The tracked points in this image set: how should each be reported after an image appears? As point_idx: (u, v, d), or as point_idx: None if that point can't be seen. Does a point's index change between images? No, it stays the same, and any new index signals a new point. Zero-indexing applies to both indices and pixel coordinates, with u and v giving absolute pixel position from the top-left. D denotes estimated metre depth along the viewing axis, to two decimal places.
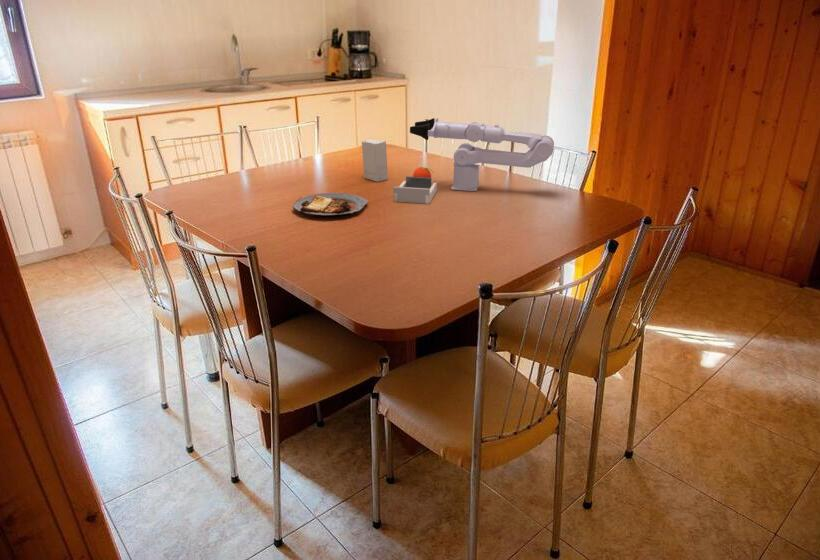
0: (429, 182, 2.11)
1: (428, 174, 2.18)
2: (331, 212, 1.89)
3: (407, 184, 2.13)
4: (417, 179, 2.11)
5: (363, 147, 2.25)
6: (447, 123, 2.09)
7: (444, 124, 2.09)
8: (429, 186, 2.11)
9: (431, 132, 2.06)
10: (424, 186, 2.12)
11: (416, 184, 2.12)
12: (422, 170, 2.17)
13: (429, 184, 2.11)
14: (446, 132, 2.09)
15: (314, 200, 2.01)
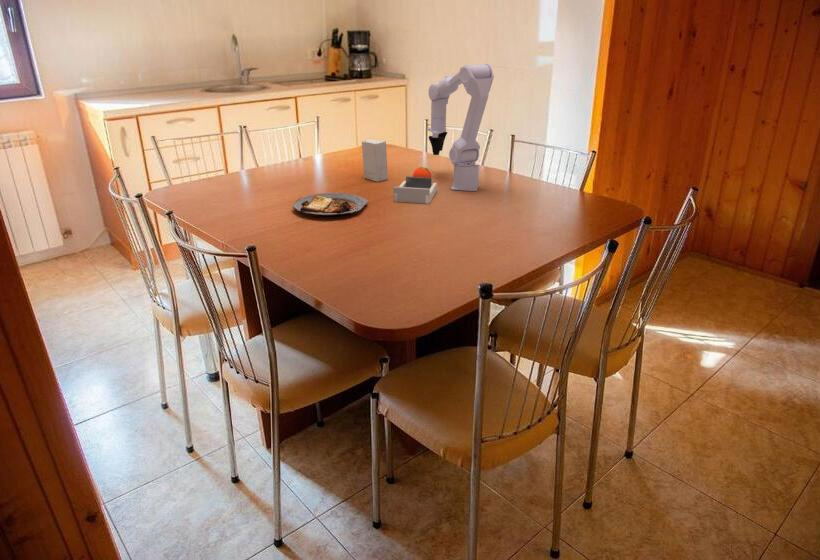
0: (429, 182, 2.11)
1: (428, 174, 2.18)
2: (331, 212, 1.89)
3: (407, 184, 2.13)
4: (417, 179, 2.11)
5: (363, 147, 2.25)
6: (431, 118, 2.23)
7: (431, 122, 2.23)
8: (429, 186, 2.11)
9: (433, 134, 2.19)
10: (424, 186, 2.12)
11: (416, 184, 2.12)
12: (422, 170, 2.17)
13: (429, 184, 2.11)
14: (437, 120, 2.21)
15: (314, 200, 2.01)
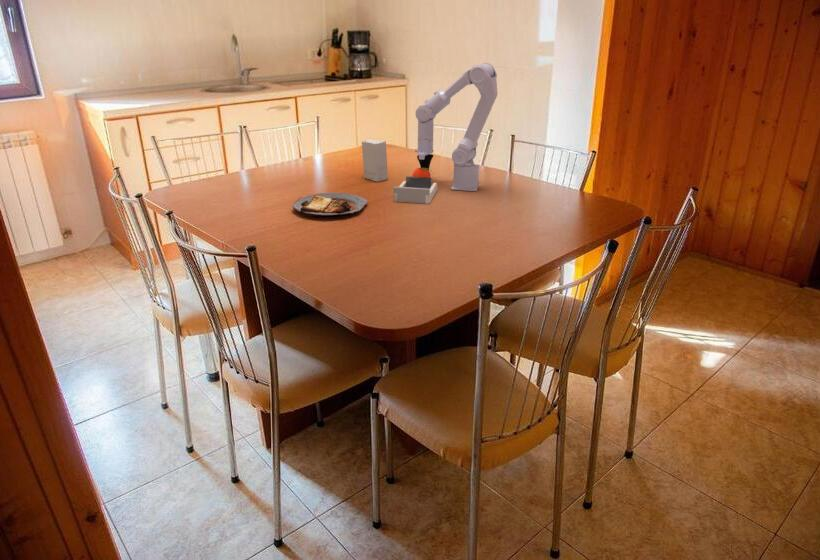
0: (429, 182, 2.11)
1: (428, 174, 2.17)
2: (331, 212, 1.89)
3: (407, 184, 2.13)
4: (417, 179, 2.11)
5: (363, 147, 2.25)
6: (418, 139, 2.17)
7: (418, 143, 2.17)
8: (429, 186, 2.11)
9: (420, 156, 2.13)
10: (424, 186, 2.12)
11: (416, 184, 2.12)
12: (422, 170, 2.17)
13: (429, 184, 2.11)
14: (424, 141, 2.15)
15: (314, 200, 2.00)
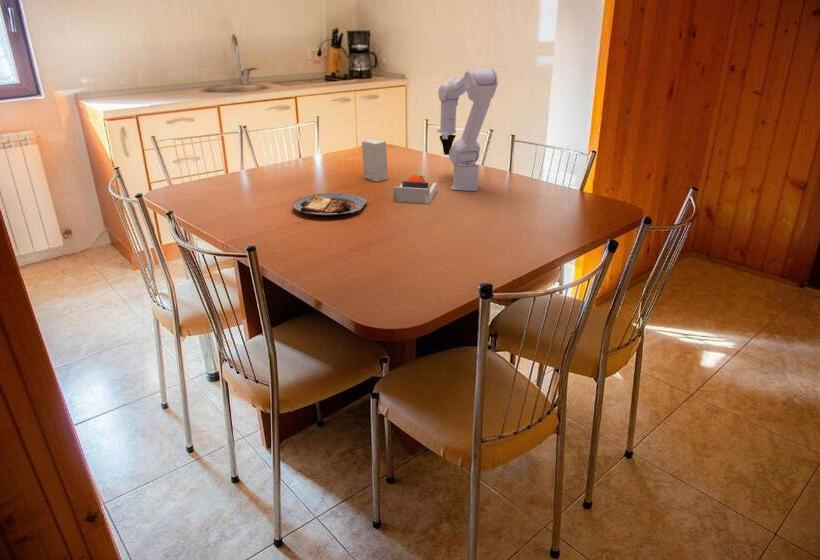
0: (426, 187, 2.05)
1: None
2: (331, 212, 1.89)
3: None
4: (414, 184, 2.05)
5: (363, 147, 2.25)
6: None
7: (441, 123, 2.21)
8: None
9: (443, 135, 2.17)
10: None
11: None
12: (416, 178, 2.07)
13: None
14: (447, 121, 2.19)
15: (313, 200, 2.00)
